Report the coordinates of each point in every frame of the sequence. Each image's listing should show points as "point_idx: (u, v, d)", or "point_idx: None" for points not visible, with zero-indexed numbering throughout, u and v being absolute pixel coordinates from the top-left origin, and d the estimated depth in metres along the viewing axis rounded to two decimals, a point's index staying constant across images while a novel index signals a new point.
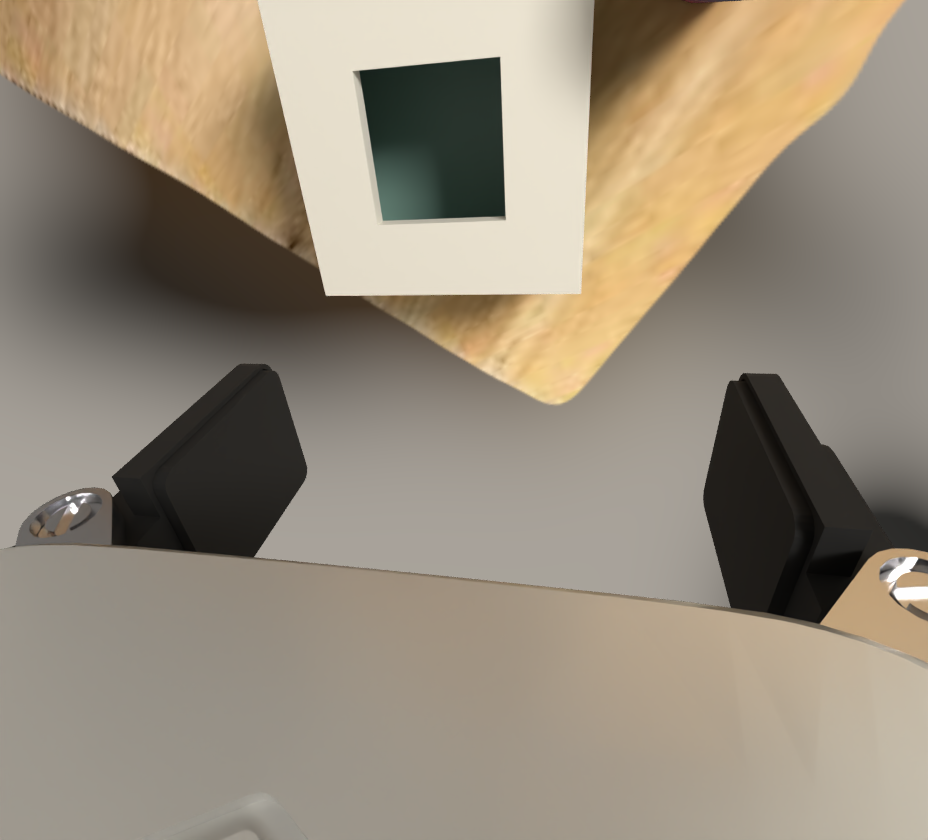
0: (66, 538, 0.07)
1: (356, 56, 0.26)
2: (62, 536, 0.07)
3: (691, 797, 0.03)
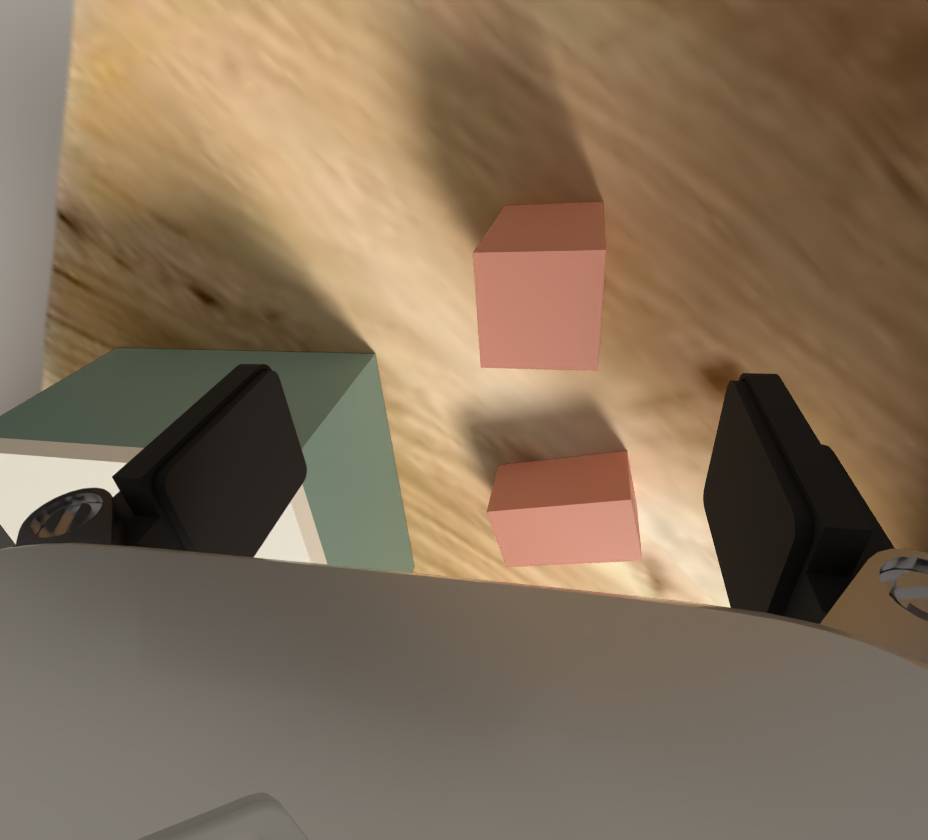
0: (66, 538, 0.07)
1: None
2: (62, 536, 0.07)
3: (691, 797, 0.03)
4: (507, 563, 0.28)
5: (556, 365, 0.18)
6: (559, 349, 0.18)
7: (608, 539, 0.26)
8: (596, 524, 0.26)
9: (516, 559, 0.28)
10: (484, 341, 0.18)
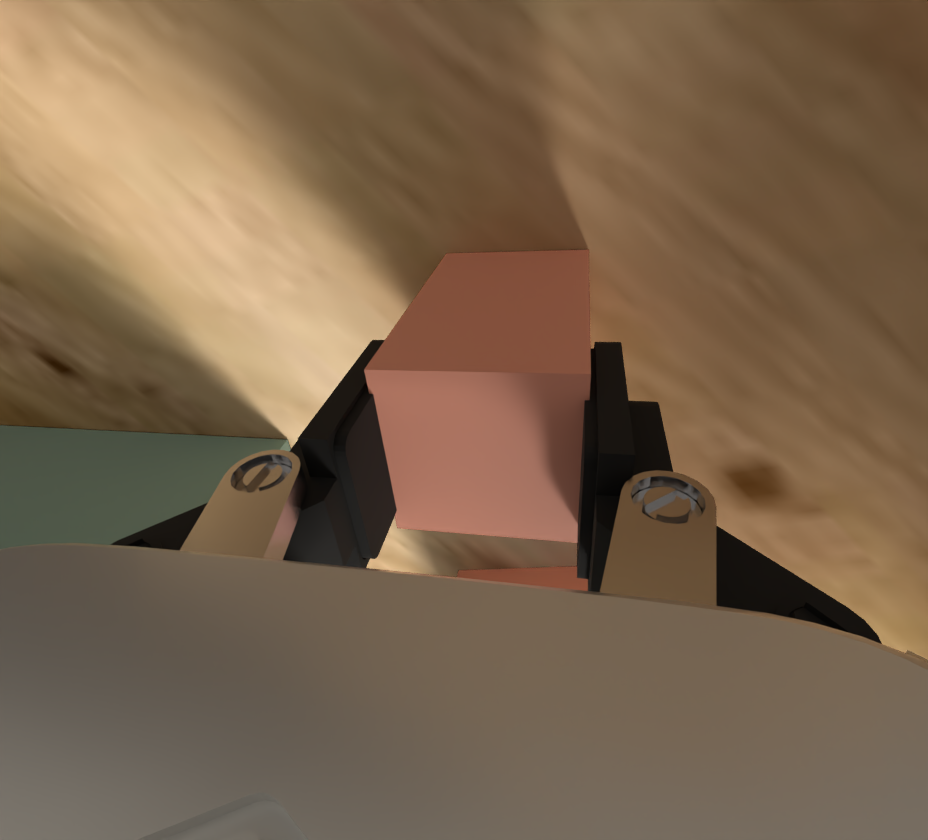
0: (250, 498, 0.08)
1: None
2: (248, 494, 0.08)
3: (691, 797, 0.03)
4: None
5: (514, 532, 0.11)
6: (518, 511, 0.11)
7: None
8: None
9: None
10: (398, 494, 0.11)
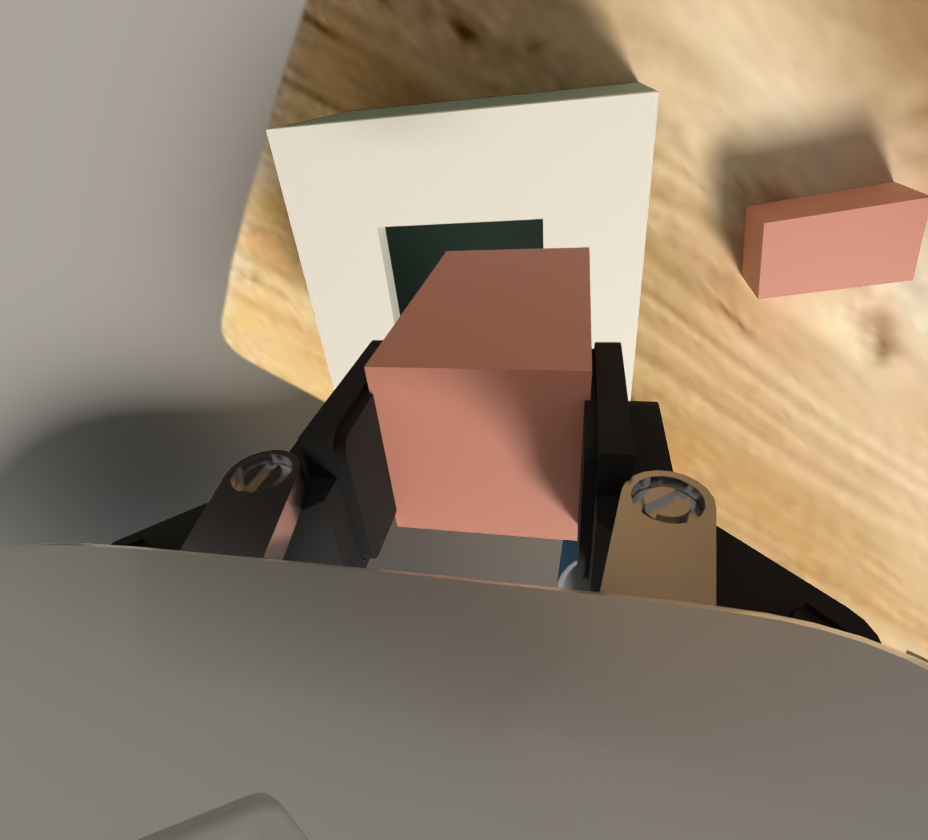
0: (251, 498, 0.08)
1: (556, 226, 0.23)
2: (248, 495, 0.08)
3: (690, 797, 0.03)
4: (761, 293, 0.28)
5: (515, 530, 0.11)
6: (518, 510, 0.11)
7: (886, 253, 0.26)
8: (880, 233, 0.26)
9: (773, 288, 0.28)
10: (398, 492, 0.11)
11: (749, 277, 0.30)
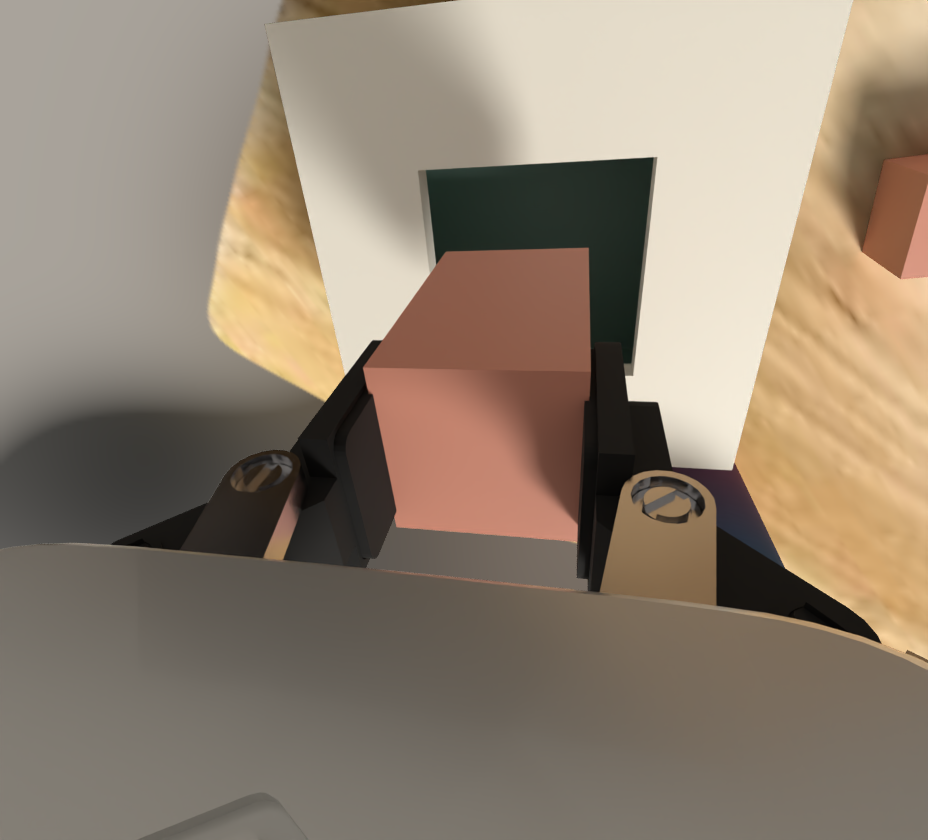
0: (251, 498, 0.08)
1: (676, 168, 0.16)
2: (248, 494, 0.08)
3: (691, 797, 0.03)
4: (905, 272, 0.22)
5: (514, 531, 0.11)
6: (517, 510, 0.11)
7: None
8: None
9: (923, 265, 0.22)
10: (397, 493, 0.11)
11: (881, 252, 0.23)
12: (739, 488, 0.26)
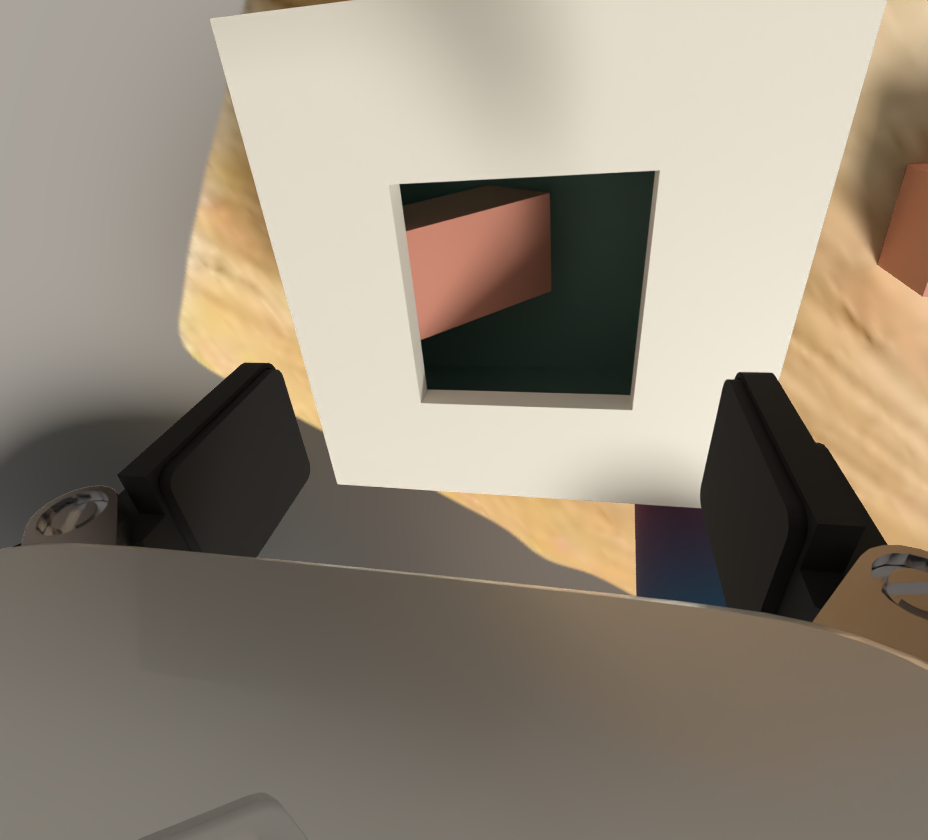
0: (72, 536, 0.07)
1: (681, 183, 0.14)
2: (68, 534, 0.07)
3: (691, 797, 0.03)
4: None
5: None
6: None
7: None
8: None
9: None
10: None
11: (900, 266, 0.21)
12: None
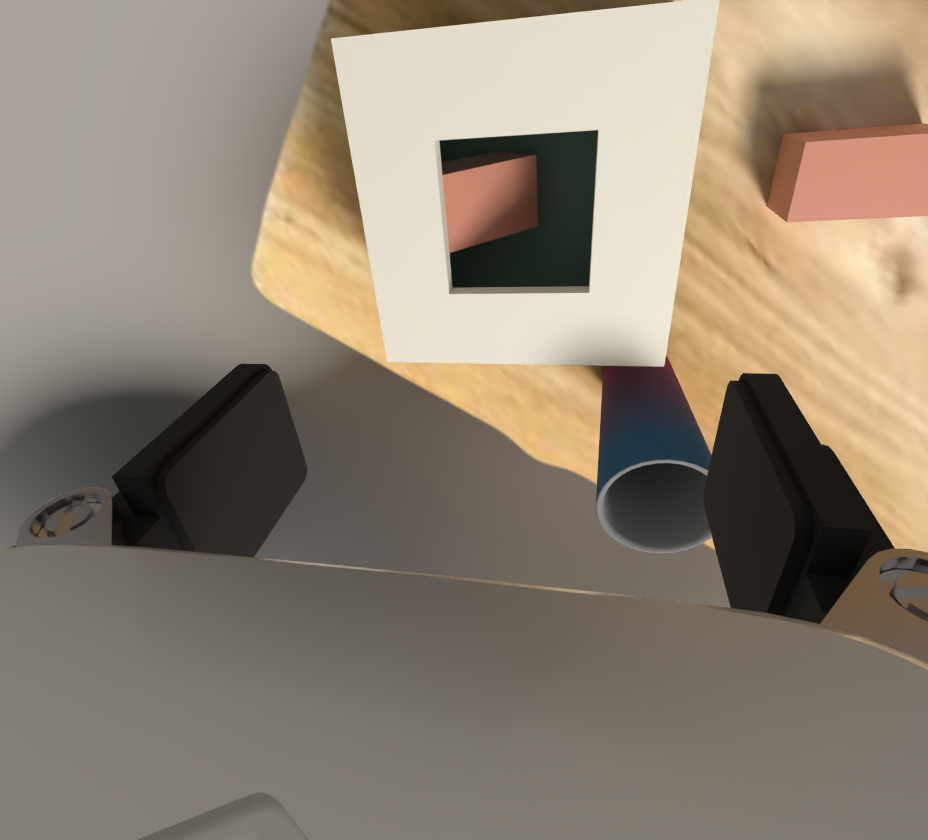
0: (66, 538, 0.07)
1: (611, 137, 0.23)
2: (62, 536, 0.07)
3: (691, 797, 0.03)
4: (790, 216, 0.29)
5: None
6: None
7: (912, 185, 0.28)
8: (910, 164, 0.27)
9: (802, 212, 0.29)
10: None
11: (777, 204, 0.31)
12: (677, 393, 0.33)
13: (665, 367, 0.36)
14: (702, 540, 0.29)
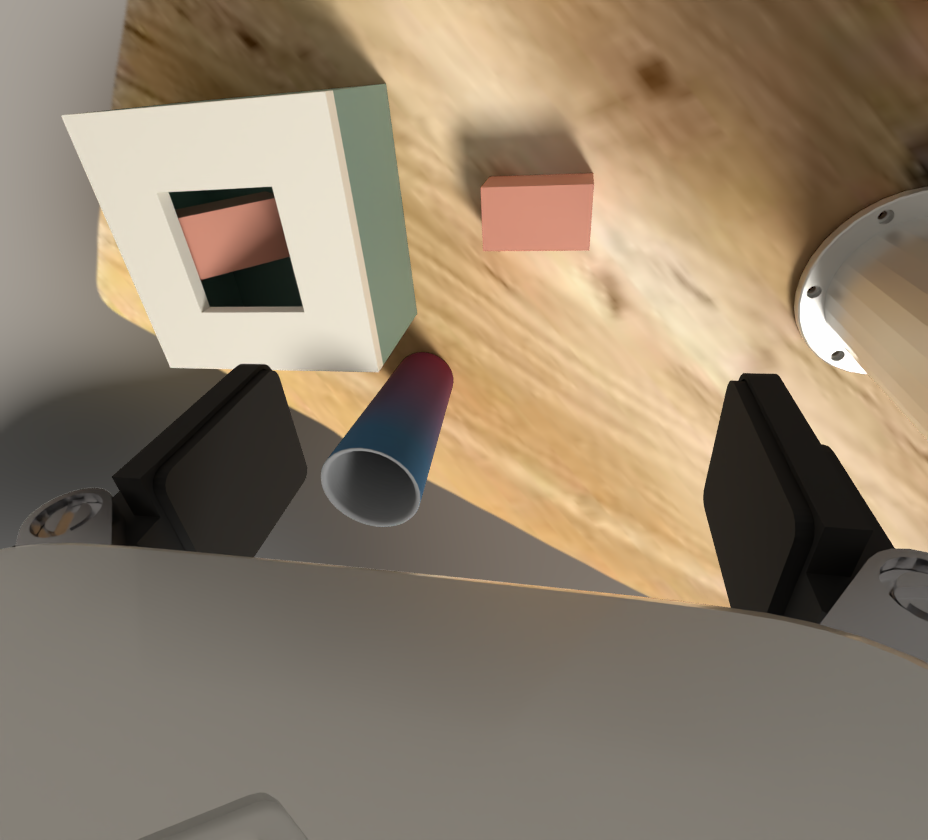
0: (66, 538, 0.07)
1: (282, 192, 0.30)
2: (62, 536, 0.07)
3: (691, 797, 0.03)
4: (484, 247, 0.36)
5: None
6: None
7: (568, 225, 0.34)
8: (562, 208, 0.33)
9: (492, 243, 0.35)
10: None
11: None
12: (421, 394, 0.40)
13: (429, 372, 0.43)
14: (410, 515, 0.35)
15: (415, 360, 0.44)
